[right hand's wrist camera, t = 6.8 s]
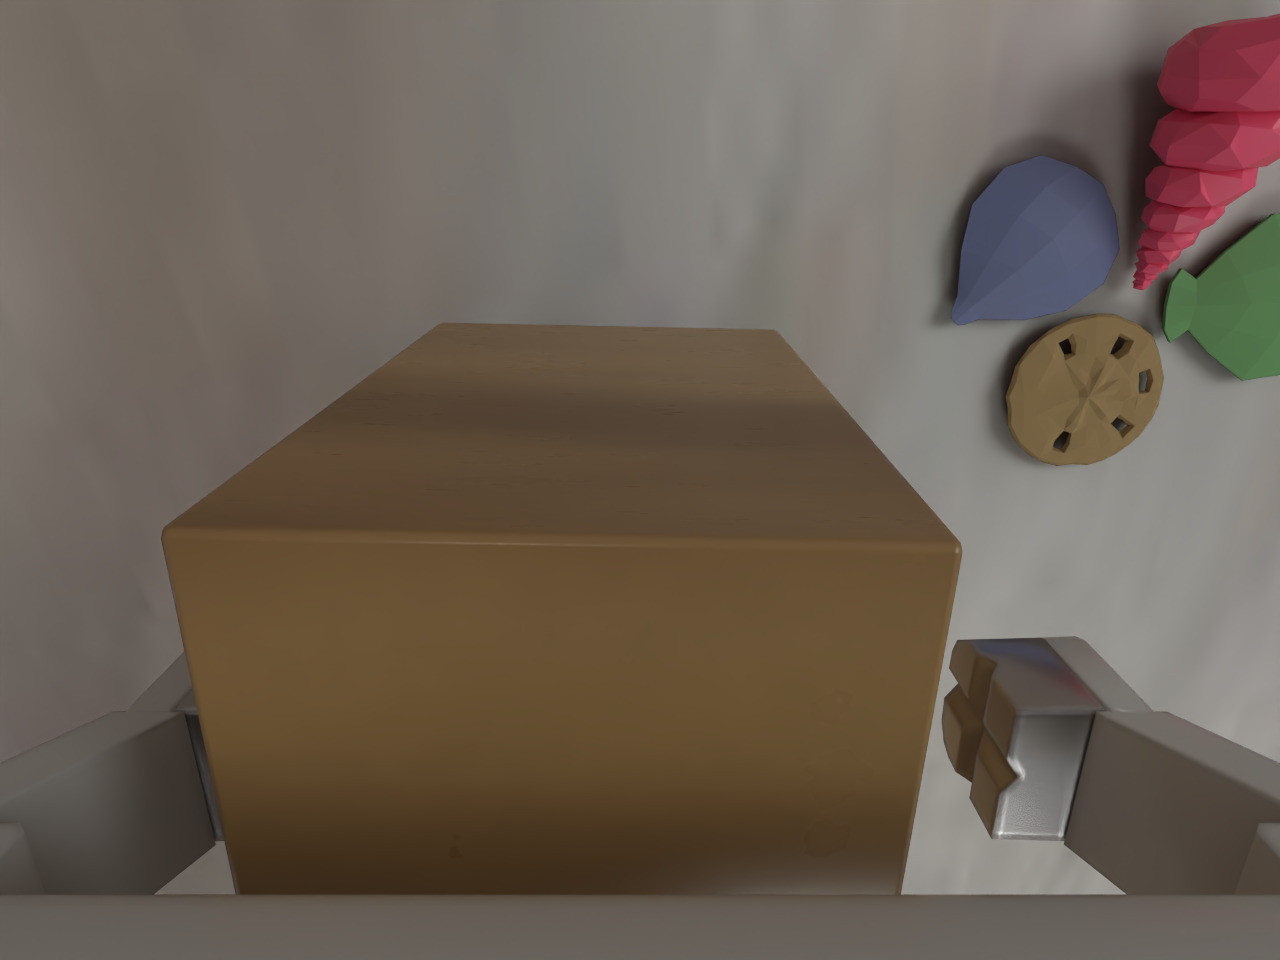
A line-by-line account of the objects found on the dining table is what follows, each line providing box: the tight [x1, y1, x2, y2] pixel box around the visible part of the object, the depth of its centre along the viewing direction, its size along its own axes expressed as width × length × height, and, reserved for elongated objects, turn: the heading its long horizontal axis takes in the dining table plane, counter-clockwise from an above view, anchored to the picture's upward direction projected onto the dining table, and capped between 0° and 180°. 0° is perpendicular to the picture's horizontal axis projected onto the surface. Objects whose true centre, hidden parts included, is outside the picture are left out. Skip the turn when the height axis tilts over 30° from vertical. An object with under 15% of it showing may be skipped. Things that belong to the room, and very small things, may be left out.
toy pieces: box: [951, 14, 1280, 466], centre depth 21 cm, size 12×11×4 cm
